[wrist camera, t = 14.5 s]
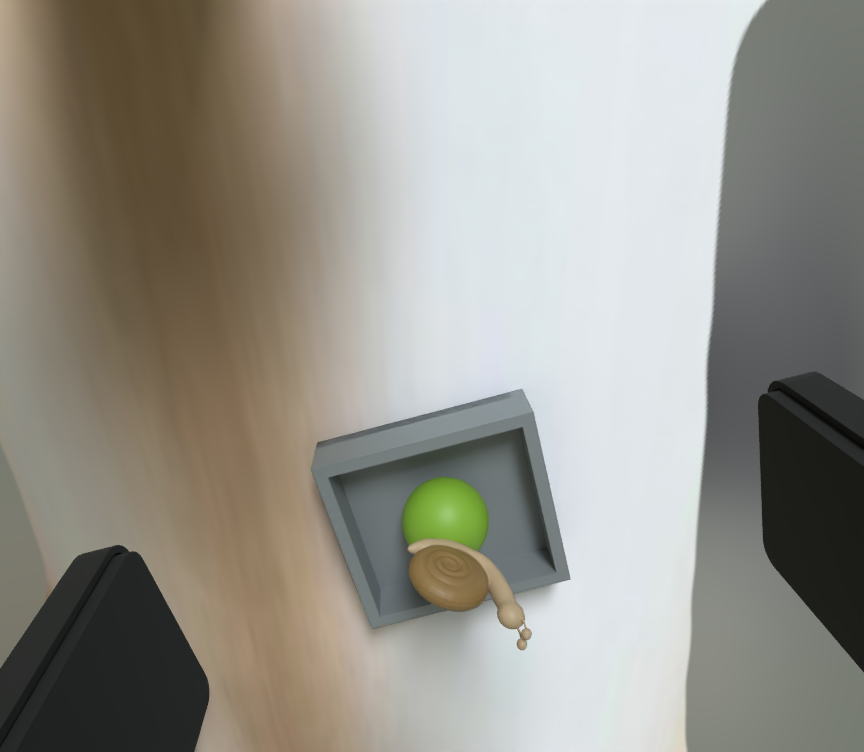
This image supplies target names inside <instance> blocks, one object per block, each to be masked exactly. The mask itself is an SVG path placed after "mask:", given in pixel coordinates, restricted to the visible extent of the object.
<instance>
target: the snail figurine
mask: <svg viewBox="0 0 864 752" xmlns="http://www.w3.org/2000/svg"><path fill="white" fill-rule="evenodd" d="M488 529H489V515H488V510H487V507H486V504H485V502H484V500H483V498H482V497H481V495H480V494H479V492H478V491H477V490H476V489H475V488H474V487H472V486H471V485H470V484H468V483H467V482H465V481H463V480H460V479H457V478H453V477H437V478H433V479H430V480H428V481H426V482H424V483H422V484H421V485H419V486H418V487H417V488H416V489H415V490H414V491H413V492H412V493H411V494H410V496H409V497H408V499H407V501H406V503H405V506H404V509H403V513H402V530H403V534H404V537H405V539H406V542H407V544H408V545H409V547H408V551H409V552H410V553H412V554H414V556H413V557H412V559H411V560H410V563H409V577H410V580H411V583H412V584H413V586H414V588H415V589H416V591H417V592H418V593H419V594H420V595H421V596H422V597H423V598H424V599H426V600H427V601H429V602H430V603H432V604H434V605H436V606H438V607H440V608H443V609H446V610H451V611H468V610H471V609H474V608H476V607H478V606H479V605H480V604H482V603H483V601H484V600H485V598H486V597H487V594H488V592H489V594H490V596H491V597H492V599H493V601H494V603H495V605H496V606H497V608H498V612H497V615H498V619H499V621H500V623H501V624H502V625H503V626H504V627H506V628H508V629H517V630H518V632H519V634H520V638H521V639H519V640H518V641H517V647H518V648H519V649H520V650H524V649H526V647H527V641H526V640H529V639H530V638H531V634H532V633H531V630H530V629H528V628H526V625H525V622H524V620H525V616H524V612H523V609H522V608H521V607H520V606H519V605H518V603H517V602H516V600H515V597H514V595H513V592H512V590H511V588H510V586H509V584H508V583H507V581H506V579H505V577H504V576H503V575H502V573H501V572H500V570H499V569H498V568H497V567H496V565H495V564H494V563H493V562H492V561H491V560H490V559H489V558H488V557H486V556H485V555H484V554H482V553H480V552H478V551H479V550H480V548H481V547H482V545H483V543H484V541H485V539H486V537H487V533H488ZM523 623H524V626H525V629H523V630H522V632H521V633H520V630H519V627H520V626H522V624H523Z"/></svg>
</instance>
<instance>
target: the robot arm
mask: <svg viewBox="0 0 864 752" xmlns="http://www.w3.org/2000/svg"><path fill="white" fill-rule="evenodd" d="M758 414H759V442H760V470H761V498H762V526H763V543H764V548H765V551H766V553H767V555H768V558H769V560H770V561H771V563H772V565H773V566H774V567H775V569H776V570H777V571H778V572H779V573H780V574H781V576H782V577H783V578H784V579H785V580H786V581H787V583H788V584H789V585H790V586H791V587H792V589H793V590H794V591H795V592H796V593H797V594H798V596H800V598H801V599H802V600H803V601H804V603H805V604H806V605H807V606H808V607H809V608H810V610H811V611H812V612H813V613H814V614H815V616H816V617H817V618H818V619H819V620H820V621H821V623H823V625H824V626H825V627H826V628H827V630H828V631H829V632H830V633H831V634H832V636H833V637H834V638H835V639H836V640H837V641H838V643H839V644H840V645H841V646H842V647H843V648H844V650H845V651H846V652H847V653H848V654H849V655H850V657H851V658H852V659H853V660H854V661H855V663H856V664H857V665H858V666H859V667H860V668H861V670H863V672H864V400H863V399H861V398H860V397H858V396H856V395H855V394H853V393H851V392H850V391H848V390H846V389H845V388H843V387H842V386H840V385H838V384H836V383H835V382H833V381H832V380H830V379H828V378H826V377H825V376H823V375H822V374H820V373H817V372H809V373H805V374H801V375H797V376H793V377H789V378H785V379H781V380H777V381H773V382H772V383H771V384H770V386H769V388H768V393H766V394H763V395H762V396H760V398H759V402H758ZM208 701H209V684H208V680H207V677H206V675H205V673H204V671H203V669H202V667H201V665H200V664H199V662H198V660H197V658H196V656H195V654H194V652H193V651H192V649H191V647H190V645H189V643H188V641H187V640H186V638H185V636H184V634H183V632H182V630H181V628H180V627H179V625H178V623H177V621H176V619H175V617H174V616H173V614H172V612H171V610H170V608H169V606H168V605H167V603H166V601H165V599H164V597H163V595H162V593H161V592H160V590H159V588H158V586H157V584H156V582H155V581H154V579H153V577H152V575H151V573H150V571H149V569H148V568H147V566H146V564H145V562H144V560H143V559H142V557H141V556H140V554H138V553H137V552H133V551H132V552H129V551H128V549H126V548H125V547H124V546H120V545H116V546H112V547H108V548H104V549H100V550H96V551H92V552H88V553H84V554H81V555H79V556H77V557H76V558H75V559H74V560H73V562H72V563H71V565H70V566H69V568H68V569H67V571H66V572H65V574H64V575H63V577H62V578H61V580H60V581H59V583H58V584H57V586H56V587H55V589H54V590H53V592H52V593H51V594H50V596H49V597H48V599H47V600H46V602H45V603H44V605H43V606H42V608H41V609H40V611H39V613H38V614H37V615H36V617H35V618H34V620H33V621H32V623H31V624H30V626H29V627H28V629H27V630H26V632H25V633H24V635H23V636H22V637H21V639H20V640H19V642H18V643H17V645H16V646H15V648H14V649H13V651H12V652H11V654H10V655H9V657H8V658H7V660H6V661H5V663H4V664H3V666H2V667H1V668H0V752H194V751H195V747H196V744H197V740H198V737H199V733H200V730H201V726H202V723H203V719H204V716H205V713H206V709H207V706H208Z"/></svg>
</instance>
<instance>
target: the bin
mask: <svg viewBox="0 0 864 752" xmlns="http://www.w3.org/2000/svg"><path fill="white" fill-rule="evenodd" d="M311 471H312V474H313V476H314V479H315V482H316V484H317V487H318V490H319V492H320V495H321V497H322V500H323V503H324V505H325V508H326V510H327V513H328V516H329V518H330V521H331V524H332V526H333V529H334V531H335V534H336V537H337V539H338V542H339V544H340V547H341V550H342V552H343V555H344V558H345V560H346V563H347V565H348V568H349V571H350V573H351V576H352V578H353V581H354V584H355V586H356V589H357V592H358V594H359V597H360V599H361V602H362V605H363V607H364V610H365V612H366V615H367V618H368V620H369V623H370V626H371V628H372V629H374V628H378V627H382V626H386V625H390V624H394V623H398V622H402V621H406V620H410V619H414V618H418V617H422V616H426V615H430V614H434V613H438V612H442V611H446V609H443V608H440V607H438V606H436V605H434V604H432V603H430V602H429V601H427V600H426V599H424V598H423V597H422V596H421V595H420V594H419V593H418V592H417V591H416V589H415V588H414V586H413V584H412V583H411V580H410V577H409V563H410V560H411V559H412V557H413V556H414V554H412V553H410V552H409V551H408V547H409V545H408V544H407V542H406V539H405V537H404V534H403V530H402V513H403V509H404V506H405V503H406V501H407V499H408V497H409V496H410V494H411V493H412V492H413V491H414V490H415V489H416V488H417V487H418V486H419V485H421V484H422V483H424V482H426V481H428V480H430V479H433V478H437V477H453V478H457V479H460V480H463V481H465V482H467V483H468V484H470V485H471V486H472V487H474V488H475V489H476V490H477V491H478V492H479V494H480V495H481V497H482V498H483V500H484V502H485V504H486V507H487V510H488V515H489V529H488V533H487V537H486V539H485V541H484V543H483V545H482V547H481V548H480V550H479V551H478V552H480V553H482V554H484V555H485V556H486V557H488V558H489V559H490V560H491V561H492V562H493V563H494V564H495V565H496V567H497V568H498V569H499V570H500V572H501V573H502V575H503V576H504V577H505V579H506V581H507V583H508V584H509V586H510V588H511V590H512V592H513V594H514V593H518V592H522V591H526V590H530V589H534V588H538V587H542V586H546V585H550V584H554V583H558V582H562V581H566V580H570V575H569V570H568V566H567V561H566V557H565V552H564V548H563V543H562V538H561V534H560V529H559V525H558V520H557V516H556V511H555V507H554V502H553V498H552V493H551V489H550V484H549V480H548V475H547V471H546V466H545V462H544V457H543V453H542V448H541V444H540V439H539V435H538V430H537V426H536V421H535V417H534V412H533V410H532V408H531V406H530V404H529V402H528V400H527V398H526V396H525V394H524V392H523V390H522V389H520V390H516V391H512V392H509V393H505V394H501V395H497V396H493V397H489V398H486V399H482V400H478V401H474V402H470V403H467V404H463V405H459V406H455V407H451V408H448V409H444V410H440V411H436V412H432V413H429V414H425V415H421V416H417V417H413V418H409V419H406V420H402V421H398V422H394V423H390V424H387V425H383V426H379V427H375V428H371V429H368V430H364V431H360V432H356V433H352V434H349V435H345V436H341V437H337V438H333V439H329V440H326V441H322V442H318V443H317V447H316V451H315V455H314V459H313V463H312V467H311ZM490 599H492V597H491V596H490V594H489V592H488V594H487V597H486V598H485V600H484V601H486V600H490Z"/></svg>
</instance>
